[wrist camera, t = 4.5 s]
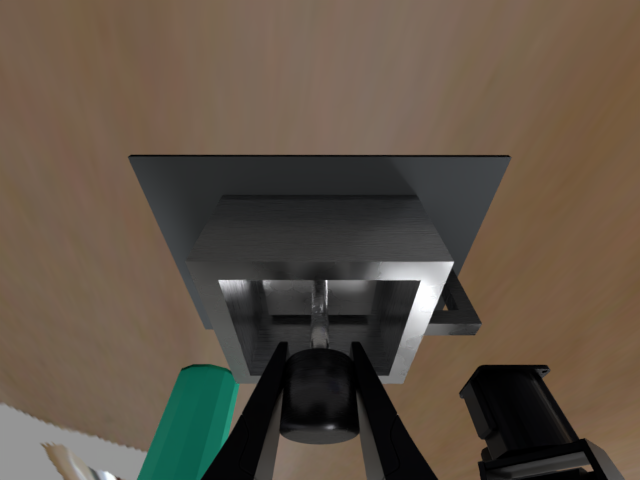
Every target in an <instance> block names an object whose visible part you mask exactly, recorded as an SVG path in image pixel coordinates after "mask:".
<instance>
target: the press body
mask: <svg viewBox="0 0 640 480" xmlns="http://www.w3.org/2000/svg"><path fill="white" fill-rule="evenodd" d="M185 262H186V265H187V267H188V270H189V272H190V274H191V277H192V279H193V282H194V284H195V286H196V289H197V291H198V294H199V296H200V298H201V301H202V303H203V305H204V308H205V310H206V313H207V315H208V317H209V320H210V322H211V325H212V327H213V329H214V332H215V334H216V337H217V339H218V341H219V344H220V346H221V348H222V351H223V353H224V356H225V358H226V360H227V363H228V365H229V368H230V370H231V372H232V375H233V377H234V380H235V382H236V384H257V383H258V381H259V379H260V377H261V375H262V374H263V372H264V370H265V368H266V366H267V364H268V362H269V360H270V358H271V356H272V355H273V353H274V351H275V349H276V347H277V345H278V343H279V342H280V341H287V342H288V344H289V357H290V356H292V355H293V354H295V353H297V352H299V351H302V350H306V349H310V334H311V315H269V312H268V307H267V302H266V296H265V291H264V286H263V280H377V283H376V288H375V293H374V298H373V304H372V309H371V314H370V315H328V321H329V349H334V350H337V351H340V352H343V353H345V354H346V355H348V356H349V357H350V346H351V342H352V341H359V342H360V343H361V345H362V346H363V348H364V350H365V352H366V354H367V356H368V358H369V360H370V362H371V364H372V365H373V367H374V369H375V371H376V373H377V375H378V377H379V379H380V381H381V383H382V384H403V383H404V380H405V378H406V375H407V373H408V371H409V368H410V366H411V363H412V361H413V359H414V356H415V354H416V352H417V349H418V347H419V344H420V342H421V340H422V337H423V335H476V333H477V331H478V330H479V328H480V327H481V325H482V322H481V321H480V319H479V317H478V315H477V313H476V311H475V309H474V307H473V306H472V304H471V302H470V300H469V298H468V296H467V294H466V293H465V291H464V289H463V287H462V285H461V283H460V281H459V279H458V278H457V276H456V274H455V272H454V270H453V268H452V266H453V263H454V260H453V259H452V257H451V255H450V253H449V251H448V250H447V248H446V246H445V244H444V242H443V241H442V239H441V237H440V235H439V234H438V232H437V230H436V228H435V226H434V225H433V223H432V221H431V219H430V217H429V216H428V214H427V212H426V210H425V208H424V207H423V205H422V203H421V201H420V199H419V198H418V196H417V195H222V197H221V198H220V200H219V202H218V204H217V206H216V207H215V209H214V211H213V213H212V214H211V216H210V218H209V220H208V222H207V223H206V225H205V227H204V229H203V231H202V232H201V234H200V236H199V238H198V239H197V241H196V243H195V245H194V247H193V248H192V250H191V252H190V254H189V256H188V257H187V259H186V261H185ZM440 294H441V295H442V298H443V300H444V302H445V304H446V307H447V309H448V310H434V309H435V306H436V304H437V302H438V299H439V297H440Z"/></svg>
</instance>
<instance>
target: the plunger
mask: <svg viewBox="0 0 640 480" xmlns="http://www.w3.org/2000/svg"><path fill="white" fill-rule="evenodd" d="M376 283H377V280H263V286H264V291H265V296H266V302H267V307H268V312H269V315H311V334H310V349H306V350H302V351H299V352H297V353H295V354H293V355H292V356H290V357H289V358H288V360H287V362H286V371H285V379H284V388H283V398H282V408H281V418H280V428H279V432H280V434H281V435H282V436H283V437H285V438H286V439H289V440H291V441H294V442H299V443H304V444H316V445H323V444H335V443H341V442H345V441H348V440H351V439H353V438H355V437H356V436H357V435H358V434H359V433H360V426H359V416H358V405H357V395H356V385H355V377H354V368H353V361H352V359H351V358H350V357H349V356H348V355H346V354H345V353H343V352H340V351H337V350H334V349H329V321H328V315H370V314H371V309H372V304H373V298H374V293H375V288H376Z"/></svg>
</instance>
